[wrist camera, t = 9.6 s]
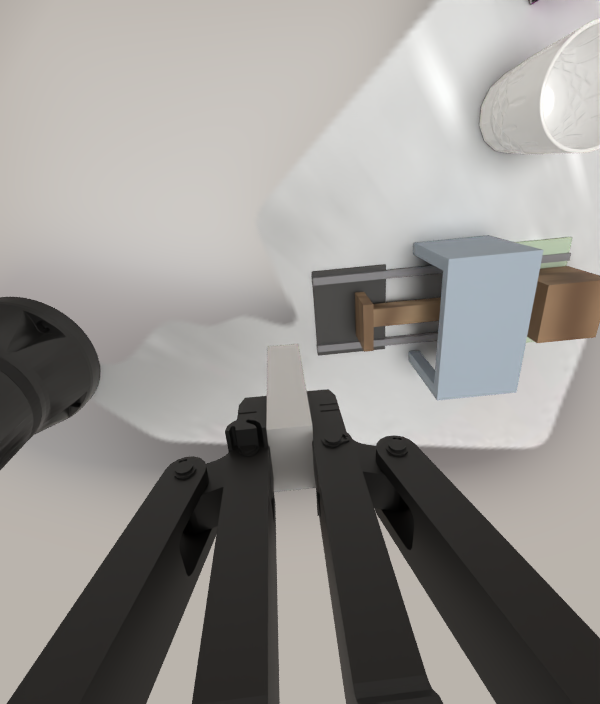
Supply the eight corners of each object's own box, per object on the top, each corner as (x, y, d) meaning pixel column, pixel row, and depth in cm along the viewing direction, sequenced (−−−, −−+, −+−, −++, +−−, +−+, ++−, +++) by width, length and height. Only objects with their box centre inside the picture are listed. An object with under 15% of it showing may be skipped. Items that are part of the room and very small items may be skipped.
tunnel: (319, 369, 45) (327, 411, 37) (310, 252, 39) (318, 272, 31) (546, 346, 45) (605, 383, 37) (572, 227, 39) (649, 239, 31)
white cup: (476, 171, 36) (541, 168, 27) (467, 78, 33) (538, 39, 24) (557, 144, 36) (651, 131, 27) (556, 46, 32) (663, -6, 23)
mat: (486, 345, 45) (488, 346, 44) (501, 243, 39) (502, 244, 39) (548, 339, 45) (549, 340, 44) (570, 237, 40) (572, 237, 39)
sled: (355, 337, 43) (366, 360, 37) (353, 286, 40) (365, 303, 35) (555, 317, 43) (595, 337, 37) (566, 265, 40) (611, 279, 35)
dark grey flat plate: (317, 354, 44) (318, 355, 44) (311, 271, 40) (312, 272, 40) (384, 348, 44) (384, 348, 44) (385, 264, 40) (385, 264, 40)
